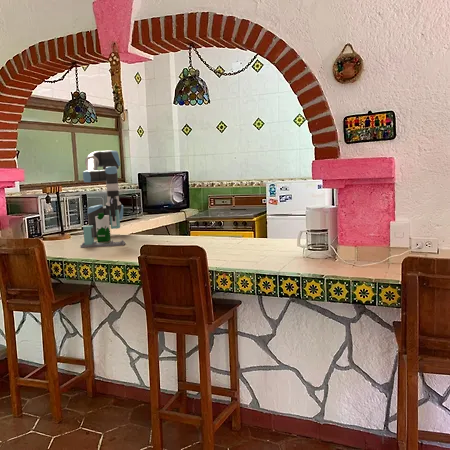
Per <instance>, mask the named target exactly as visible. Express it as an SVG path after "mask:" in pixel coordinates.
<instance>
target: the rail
mask: <svg viewBox="0 0 450 450" xmlns="http://www.w3.org/2000/svg"><path fill="white" fill-rule="evenodd" d="M124 244H125V245H126V241H125V240H124V239H121V240H120V241H114V240H113V239H112V240H110V241H108V242H98V241H96V240H94V242H93V244H92V245H85V243H84V242H82V243H81V244H80V248H82V249H83V248H97V247H98V248H99V247H103V248H104V247H121V246H120V245H123V246H125V245H124Z"/></svg>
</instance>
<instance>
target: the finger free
mask: <svg viewBox="0 0 450 450" xmlns="http://www.w3.org/2000/svg"><path fill="white" fill-rule="evenodd" d="M115 213H116V222H117V226H112V216H110V215H111V210H110V213H109V218H110V221H109V223H110V230H112V229H113V230H115V229H116V230H117V229H121V223H120V222H121V220H120V218H119V210H115Z"/></svg>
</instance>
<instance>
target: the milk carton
mask: <svg viewBox="0 0 450 450" xmlns="http://www.w3.org/2000/svg"><path fill="white" fill-rule="evenodd" d="M95 220H96V232H97V237H96V239H97V241H96V242H97V243H106V242H110V241H112V240H111V223H110V221H109V215H104V213H98V216H96V217H95Z"/></svg>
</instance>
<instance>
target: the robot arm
mask: <svg viewBox="0 0 450 450" xmlns="http://www.w3.org/2000/svg"><path fill="white" fill-rule="evenodd" d="M84 164H85V166H86V167H85V168H86V169H85V170H83V171H82V180H83V182H84V183H95V182H96V183H97V182H99V183H100V182H105V188H106V197H107V199H106V200H107V202H106V203H105V205H104V204H97V205H92V206H89V207H88V208H87V219H88V221H87V222H88V226H93V228H94V238H97V232H96V220H95V217H96V216H98V213H104V215H109V213H110V210H111V215H110V216H112V226H117V222H116V213H115V210H119V218H120V221H122V220H123V218H124V205H123V204H122V203H121V201H120V189H119V177H118V175H119V174H118V171H119V168H120V167H121V161H120V156H119V152H118V151H117V150H96V151H93V152H91V153H89V154H87V156H86V157H85V160H84ZM98 168H102V169H100V170H99V169H98ZM109 222H110V218H109Z"/></svg>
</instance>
